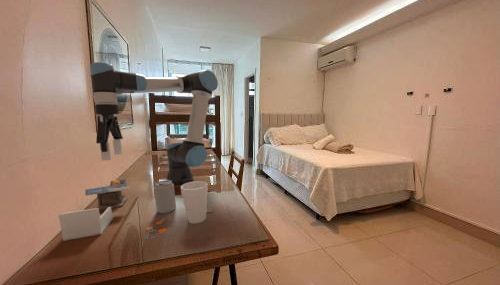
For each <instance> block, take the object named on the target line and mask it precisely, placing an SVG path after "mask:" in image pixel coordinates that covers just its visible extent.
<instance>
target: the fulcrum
mask: <svg viewBox="0 0 500 285" xmlns="http://www.w3.org/2000/svg"><path fill="white" fill-rule="evenodd" d="M117 188H123V187H121V186H118V187H117ZM122 193H123V192H122V190H121V191H114V192H107V193H101V194H96V196H97V203H98V204H96V205H95V206H94V208H99V211H101V210H106V209H107V208H108V207H111V209H114V208H122V207H124V205H125V203H126V202H127V201H128V198H127V197H126V198H125V197H124V198H123V194H122Z"/></svg>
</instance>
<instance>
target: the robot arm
mask: <svg viewBox="0 0 500 285" xmlns="http://www.w3.org/2000/svg"><path fill="white" fill-rule="evenodd" d="M89 68H90V80H91V85H92V91H93V95H92V98H93V100H94V103H95V105H94V108H95V114H96V115H97V126H96V128H97V130H96V141H95V142H96V144H99V149H100V156H101V161H102V162H103V161H104V162H105V161H111V160H112V156H111V149H110V148H111V147H110V142H109V138H110V133H111V136H112V138H113V139H112V143H113V144H112V145H113V151H114V155H122V154H123V151H122V149H123V148H122V142H121V140H123V139H124V137H123V134H122V132H121V129H120V124H119V121H118V116H115V115H118V114H119V112H120V111H119V106H118V103H119V102H118V95H119V96H121V95H123V94H124V95H125V94H144V93H145V94H147V93H170V92H171V93H172V92H176V93H177V94H191V95H192V102H191V108H190V109H191V110H190V114H189V120H188V126H187V132H186V133H187V134H186V138H184V139H183V140H182V141H181V142H179V141H178V142H174V143H168V144H167V145H166V153H167V162H168V163H167V164H168V171H167V176H166V180H170V181H172V183H173V184H174V185H179V184H180V185H181V184H182V185H183V184H186V183H189V182H192V181H193V180H194V174H193V172H192V169H191V167H192V168H193V167H194V168H197V167H200V166H202V165H203V164H204V163H205V162H206V161H207V158H208V150H207V149H206V147H205V142H204V140H203V139H204V138H203V137H204V133H205V132H204V131H205V125H206V119H207V112H208V106H209V105H208V104H209V100H210V99H211V98H212V96H213V92H214V91H215V90H217V88H218V86H219V82H218V78H217V76H216V75H215V73H214V72H213V71H211V70H209V69H202V70H200V71H197V72H192V73H188V74H185V75H176V76H175V77H152V76H151V77H146V76H145V74H141V73H137V72H128V71H121V70H120V71H119V70H115V68H114V65H113V64H112V63H108V62H103V61H102V62H99V61H97V62H96V61H95V62H92V63H90V66H89ZM98 115H99V116H98Z"/></svg>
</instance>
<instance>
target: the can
mask: <svg viewBox="0 0 500 285" xmlns="http://www.w3.org/2000/svg"><path fill="white" fill-rule="evenodd" d="M153 191H154V200H155V201H154V202H155V207H156V208H155V209H156V212H157V213H159V214H164V215H165V214H169V213H172V212H173V211H174V210H175V209H176V208H177V203H176V194H175V184H173V183H172V181H170V180H167V179H166V180H159V181H157V182H155V185H154V187H153Z"/></svg>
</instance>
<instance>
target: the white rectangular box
mask: <svg viewBox="0 0 500 285" xmlns="http://www.w3.org/2000/svg"><path fill="white" fill-rule="evenodd" d="M58 218H59V219H58V220H59V225H60V230H61V235H62V241H63V242H66V241H70V240H71V241H72V240H77V239H82V238H87V237H92V236H98V235H102V234H103V233H104V232H105V230H106V229H107V227H108V226H109V225H110V224H111V222H112V221H113V220H114V213H113V211H112V208H111V207H108V208H107V209H105V210H104V212H103V213H100V210H99V208H95V207H94V208H89V209H82V210H81V209H80V210H75V211H68V212H62V213H61V212H60V213H59V214H58Z"/></svg>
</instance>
